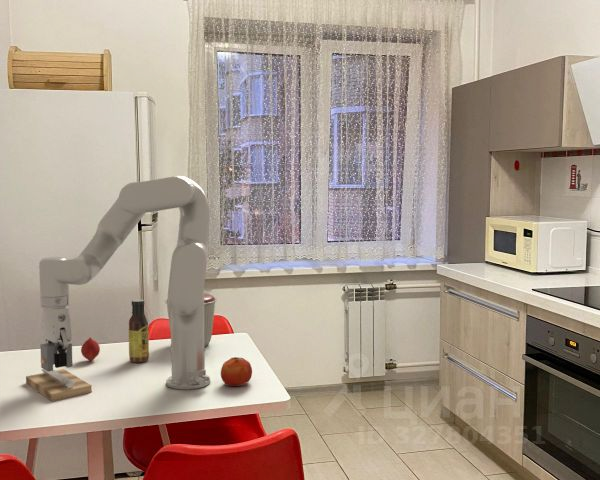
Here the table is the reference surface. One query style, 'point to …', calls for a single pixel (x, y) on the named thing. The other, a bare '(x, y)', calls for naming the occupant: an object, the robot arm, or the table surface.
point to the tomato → (236, 371)
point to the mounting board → (58, 386)
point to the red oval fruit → (90, 349)
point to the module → (49, 352)
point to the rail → (59, 378)
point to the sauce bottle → (138, 333)
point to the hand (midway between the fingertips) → (56, 363)
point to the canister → (208, 316)
